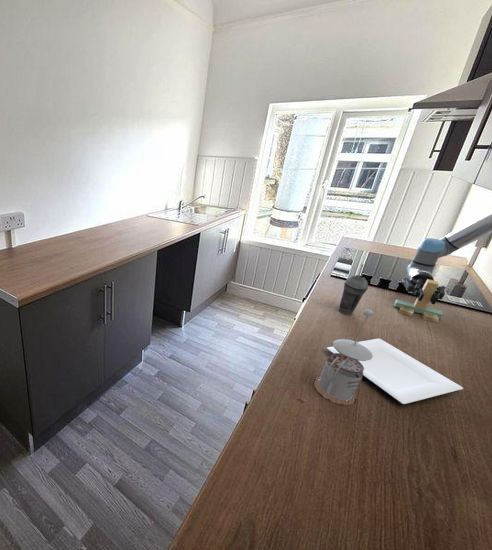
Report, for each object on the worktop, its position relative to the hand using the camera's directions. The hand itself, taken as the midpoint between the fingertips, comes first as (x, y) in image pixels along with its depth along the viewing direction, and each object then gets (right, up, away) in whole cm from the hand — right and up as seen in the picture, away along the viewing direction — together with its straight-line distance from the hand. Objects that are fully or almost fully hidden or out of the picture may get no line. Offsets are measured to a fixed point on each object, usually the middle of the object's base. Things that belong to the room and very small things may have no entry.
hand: (428, 299), depth 111 cm
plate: (-37, -19, -24) cm, 48 cm away
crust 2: (+4, -8, +4) cm, 10 cm away
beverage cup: (-26, -6, +6) cm, 28 cm away
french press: (-59, -22, -33) cm, 71 cm away
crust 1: (-2, -6, +7) cm, 10 cm away
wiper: (+4, -6, +8) cm, 11 cm away
